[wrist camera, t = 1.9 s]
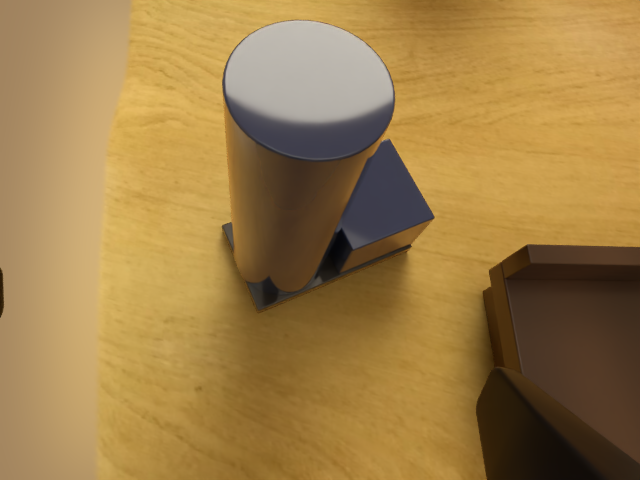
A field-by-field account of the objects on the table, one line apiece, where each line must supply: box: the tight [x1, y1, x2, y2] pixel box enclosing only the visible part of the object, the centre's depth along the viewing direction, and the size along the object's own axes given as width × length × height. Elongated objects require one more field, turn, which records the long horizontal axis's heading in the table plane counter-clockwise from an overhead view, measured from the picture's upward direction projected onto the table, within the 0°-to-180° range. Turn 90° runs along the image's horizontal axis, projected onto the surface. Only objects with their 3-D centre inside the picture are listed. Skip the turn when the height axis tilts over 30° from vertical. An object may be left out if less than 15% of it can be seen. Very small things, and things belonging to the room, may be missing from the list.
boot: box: [222, 20, 434, 313], centre depth 17 cm, size 8×4×12 cm, turn 115°
